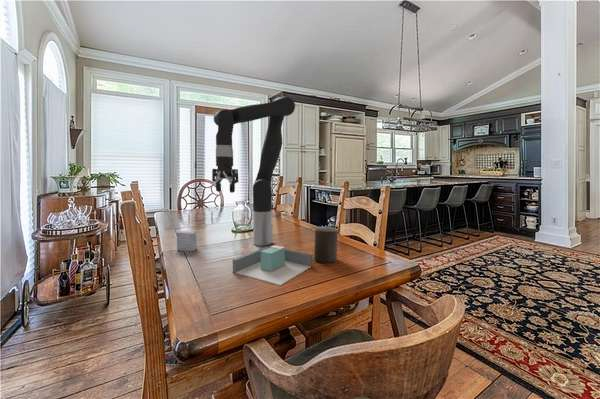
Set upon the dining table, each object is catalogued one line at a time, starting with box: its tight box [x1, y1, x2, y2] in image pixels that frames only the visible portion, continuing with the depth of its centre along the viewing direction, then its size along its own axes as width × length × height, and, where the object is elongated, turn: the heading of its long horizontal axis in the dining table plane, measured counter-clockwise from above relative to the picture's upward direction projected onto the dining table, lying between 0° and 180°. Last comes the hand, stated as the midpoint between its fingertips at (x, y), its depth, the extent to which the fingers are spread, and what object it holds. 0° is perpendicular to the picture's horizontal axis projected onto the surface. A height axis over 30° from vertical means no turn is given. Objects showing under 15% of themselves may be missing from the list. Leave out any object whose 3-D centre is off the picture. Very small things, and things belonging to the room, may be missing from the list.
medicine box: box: [175, 230, 198, 252], centre depth 133 cm, size 8×4×9 cm, turn 84°
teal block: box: [261, 244, 286, 271], centre depth 110 cm, size 5×9×7 cm, turn 148°
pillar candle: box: [313, 226, 339, 264], centre depth 120 cm, size 10×10×15 cm
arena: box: [232, 245, 314, 287], centre depth 109 cm, size 22×22×5 cm
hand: (225, 191), depth 128 cm, fingers open, 8 cm apart
